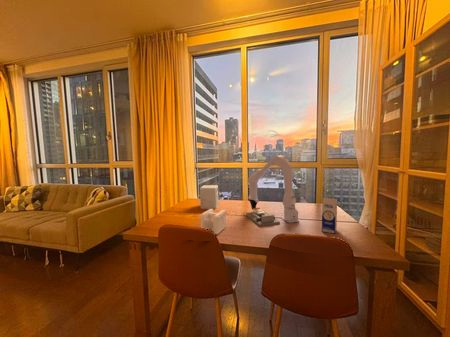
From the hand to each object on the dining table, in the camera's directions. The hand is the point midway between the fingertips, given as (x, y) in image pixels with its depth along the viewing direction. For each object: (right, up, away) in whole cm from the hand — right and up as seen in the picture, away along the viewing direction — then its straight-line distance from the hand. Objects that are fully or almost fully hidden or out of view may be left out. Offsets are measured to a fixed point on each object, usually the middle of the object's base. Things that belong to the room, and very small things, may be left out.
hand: (253, 209), depth 159 cm
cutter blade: (+3, -2, -9) cm, 10 cm away
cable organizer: (-28, -7, -31) cm, 42 cm away
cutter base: (+4, -4, -14) cm, 15 cm away
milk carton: (+39, -5, -36) cm, 54 cm away
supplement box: (-34, -2, +21) cm, 40 cm away
